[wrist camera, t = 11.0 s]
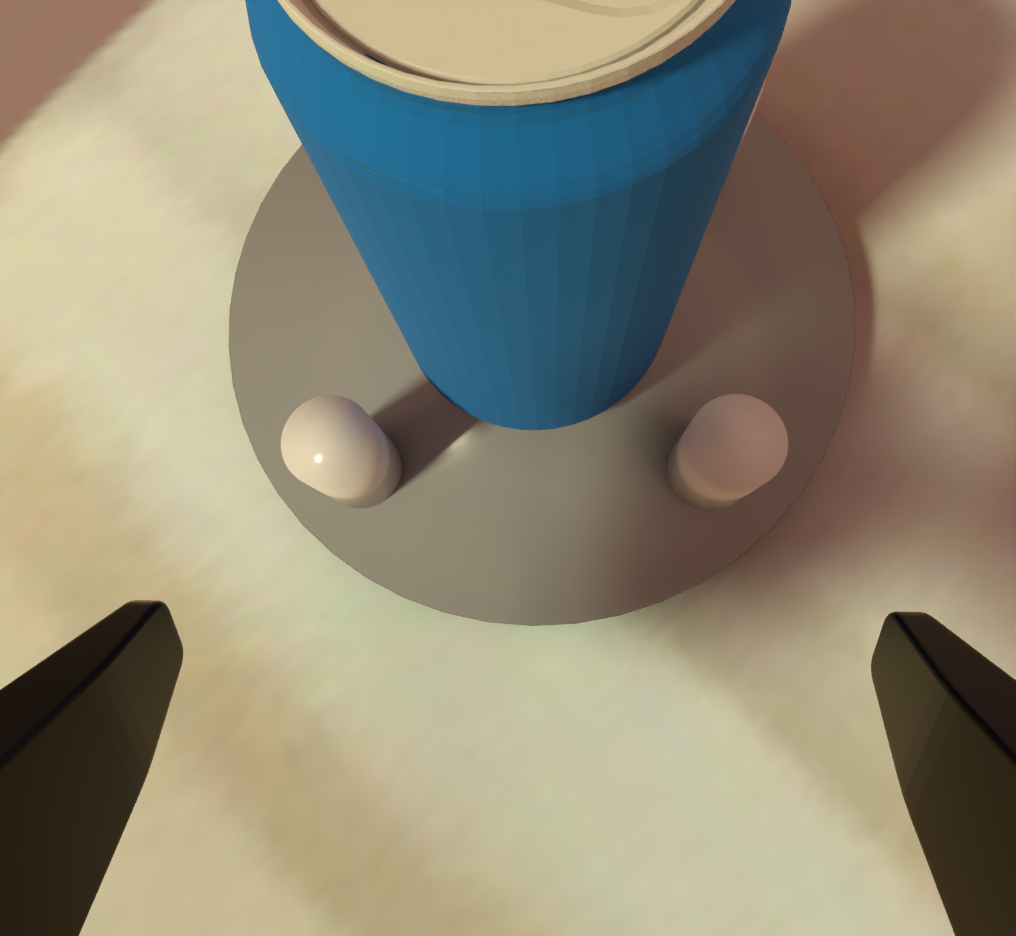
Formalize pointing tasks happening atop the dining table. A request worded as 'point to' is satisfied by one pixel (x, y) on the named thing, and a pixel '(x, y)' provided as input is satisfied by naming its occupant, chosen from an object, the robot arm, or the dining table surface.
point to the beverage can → (523, 173)
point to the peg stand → (554, 452)
